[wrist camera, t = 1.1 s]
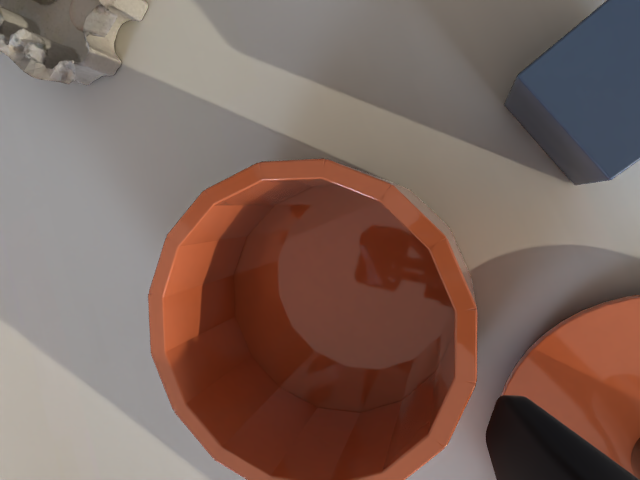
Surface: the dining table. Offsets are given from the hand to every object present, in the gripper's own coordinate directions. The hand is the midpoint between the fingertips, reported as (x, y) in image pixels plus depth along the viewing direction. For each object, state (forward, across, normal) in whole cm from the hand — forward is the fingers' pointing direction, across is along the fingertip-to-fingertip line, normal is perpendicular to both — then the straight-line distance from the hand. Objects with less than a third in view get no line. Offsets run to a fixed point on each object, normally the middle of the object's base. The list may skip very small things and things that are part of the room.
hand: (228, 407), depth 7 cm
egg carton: (+24, +12, -6) cm, 28 cm away
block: (+13, -13, -4) cm, 19 cm away
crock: (+14, -4, +6) cm, 15 cm away
